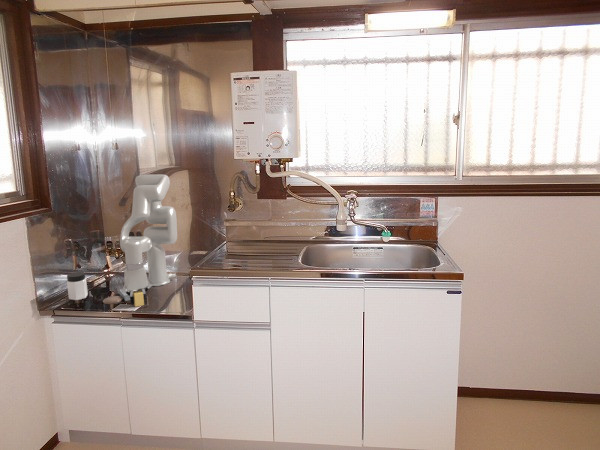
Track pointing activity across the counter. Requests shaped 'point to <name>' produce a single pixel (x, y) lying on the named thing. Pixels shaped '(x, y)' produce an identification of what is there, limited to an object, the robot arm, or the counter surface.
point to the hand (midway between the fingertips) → (137, 302)
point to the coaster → (112, 300)
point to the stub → (138, 298)
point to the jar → (77, 286)
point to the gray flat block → (125, 295)
